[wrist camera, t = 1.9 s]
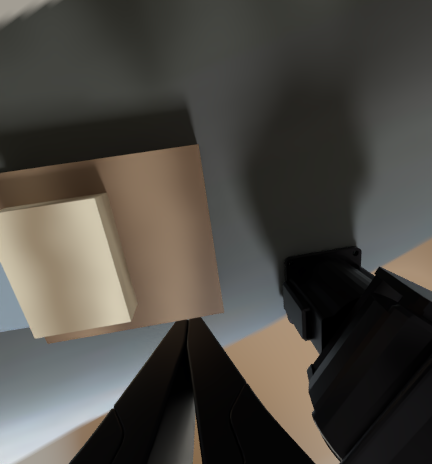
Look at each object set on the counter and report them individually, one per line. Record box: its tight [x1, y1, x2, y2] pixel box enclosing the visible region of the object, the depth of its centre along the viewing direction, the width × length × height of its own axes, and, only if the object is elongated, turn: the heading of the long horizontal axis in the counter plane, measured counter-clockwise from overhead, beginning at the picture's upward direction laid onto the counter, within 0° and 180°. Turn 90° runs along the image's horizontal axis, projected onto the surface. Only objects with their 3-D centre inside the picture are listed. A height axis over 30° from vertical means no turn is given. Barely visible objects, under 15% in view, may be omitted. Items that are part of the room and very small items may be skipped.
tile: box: [0, 193, 138, 339], centre depth 15 cm, size 6×8×2 cm
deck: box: [0, 144, 224, 344], centre depth 18 cm, size 13×12×3 cm
